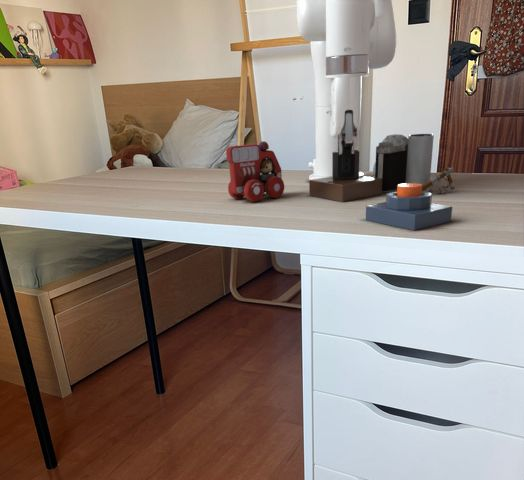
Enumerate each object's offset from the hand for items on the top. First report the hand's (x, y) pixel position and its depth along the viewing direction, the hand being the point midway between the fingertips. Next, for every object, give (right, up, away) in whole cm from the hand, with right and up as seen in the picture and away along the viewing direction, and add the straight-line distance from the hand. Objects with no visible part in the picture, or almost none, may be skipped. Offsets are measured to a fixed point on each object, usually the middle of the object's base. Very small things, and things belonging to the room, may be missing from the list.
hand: (345, 175), depth 102 cm
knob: (0, -1, 0) cm, 1 cm away
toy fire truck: (-17, -4, +4) cm, 18 cm away
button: (+6, -11, -22) cm, 25 cm away
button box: (+6, -14, -21) cm, 26 cm away
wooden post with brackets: (+16, -4, -2) cm, 17 cm away
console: (0, -3, +2) cm, 4 cm away
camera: (+11, 0, +8) cm, 14 cm away
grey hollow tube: (+14, -3, +1) cm, 15 cm away
